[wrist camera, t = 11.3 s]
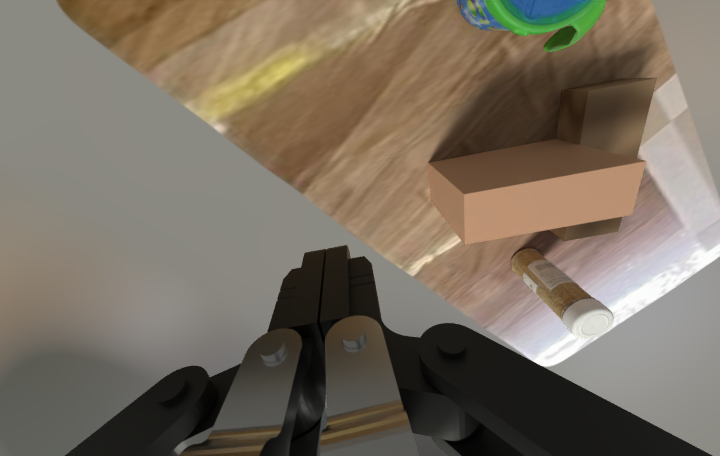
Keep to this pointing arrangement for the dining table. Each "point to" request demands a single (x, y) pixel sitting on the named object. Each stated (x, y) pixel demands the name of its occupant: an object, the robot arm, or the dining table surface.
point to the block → (532, 189)
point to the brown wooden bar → (604, 130)
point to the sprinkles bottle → (562, 295)
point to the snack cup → (535, 17)
